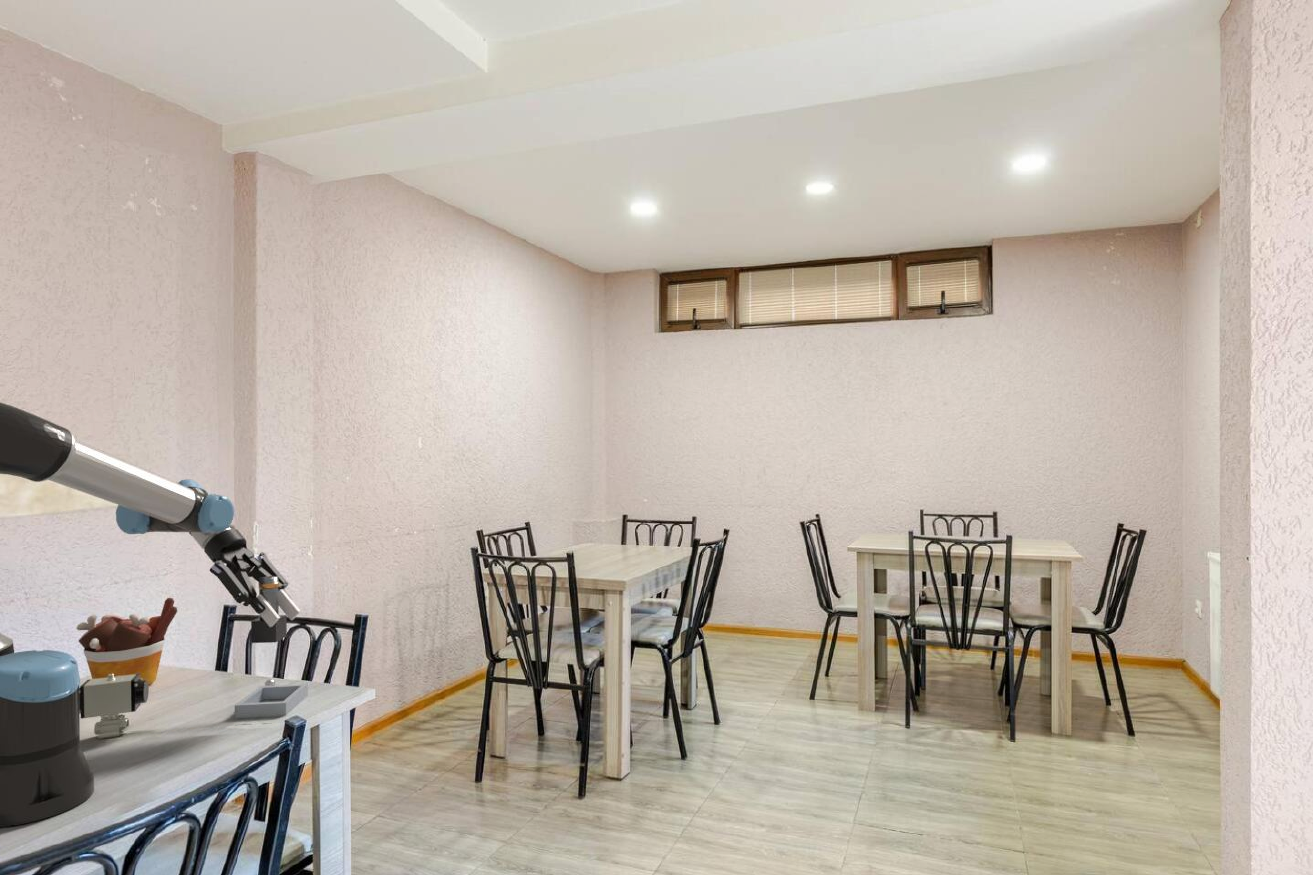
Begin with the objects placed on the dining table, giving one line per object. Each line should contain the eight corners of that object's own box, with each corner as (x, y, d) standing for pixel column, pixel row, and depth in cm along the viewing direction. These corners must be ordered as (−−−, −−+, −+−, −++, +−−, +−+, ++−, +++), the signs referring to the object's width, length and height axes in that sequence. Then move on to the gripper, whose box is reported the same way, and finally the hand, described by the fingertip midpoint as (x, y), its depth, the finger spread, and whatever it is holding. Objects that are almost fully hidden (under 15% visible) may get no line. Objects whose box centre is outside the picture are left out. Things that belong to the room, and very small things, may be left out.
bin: (286, 722, 155) (285, 702, 155) (235, 725, 154) (234, 705, 154) (308, 702, 167) (307, 684, 167) (260, 704, 166) (260, 686, 166)
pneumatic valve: (144, 734, 150) (143, 673, 150) (71, 744, 146) (70, 681, 146) (150, 724, 156) (149, 665, 156) (81, 734, 151) (80, 673, 151)
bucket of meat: (71, 704, 169) (70, 614, 169) (81, 684, 183) (80, 601, 183) (178, 687, 179) (176, 603, 179) (179, 670, 194) (178, 591, 194)
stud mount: (280, 702, 167) (280, 683, 167) (247, 704, 166) (246, 684, 166) (292, 692, 174) (292, 673, 174) (260, 693, 173) (260, 675, 173)
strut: (276, 642, 158) (275, 579, 158) (251, 642, 158) (250, 580, 158) (286, 636, 163) (285, 575, 163) (262, 636, 163) (262, 575, 163)
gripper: (243, 545, 174) (305, 620, 169) (173, 558, 156) (241, 642, 152) (262, 522, 172) (325, 597, 168) (194, 532, 155) (263, 616, 150)
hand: (285, 618), depth 160 cm, fingers closed on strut, 5 cm apart
